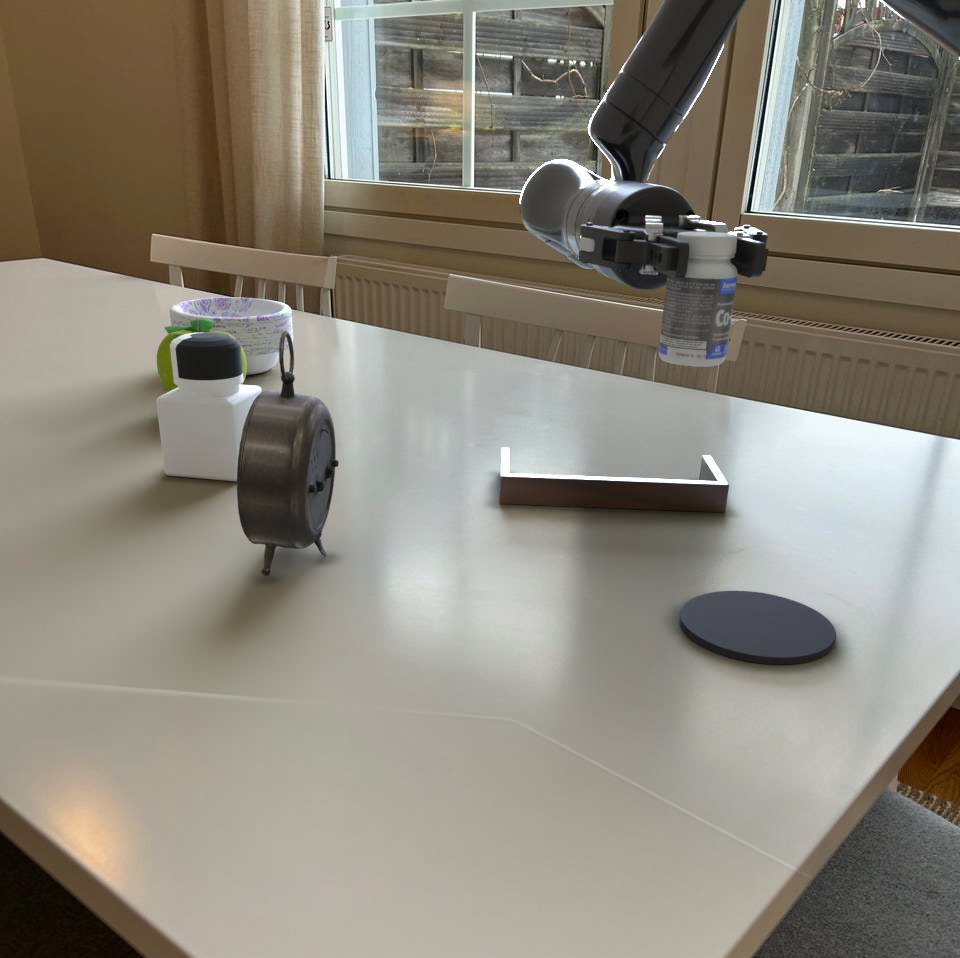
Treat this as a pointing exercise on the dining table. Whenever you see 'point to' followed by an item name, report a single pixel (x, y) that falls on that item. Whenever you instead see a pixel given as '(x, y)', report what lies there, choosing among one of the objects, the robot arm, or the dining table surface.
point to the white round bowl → (242, 325)
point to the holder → (616, 490)
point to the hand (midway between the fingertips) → (721, 260)
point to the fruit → (165, 354)
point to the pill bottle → (700, 302)
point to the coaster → (757, 627)
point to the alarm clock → (286, 467)
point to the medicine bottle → (204, 407)
